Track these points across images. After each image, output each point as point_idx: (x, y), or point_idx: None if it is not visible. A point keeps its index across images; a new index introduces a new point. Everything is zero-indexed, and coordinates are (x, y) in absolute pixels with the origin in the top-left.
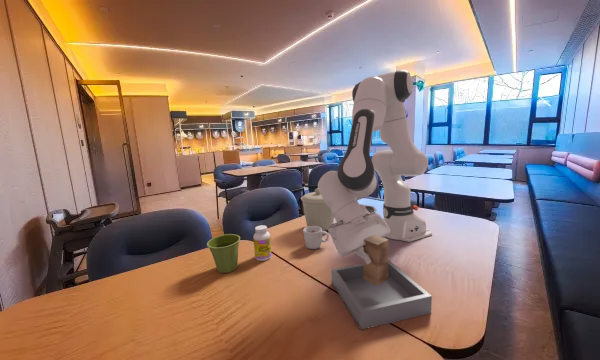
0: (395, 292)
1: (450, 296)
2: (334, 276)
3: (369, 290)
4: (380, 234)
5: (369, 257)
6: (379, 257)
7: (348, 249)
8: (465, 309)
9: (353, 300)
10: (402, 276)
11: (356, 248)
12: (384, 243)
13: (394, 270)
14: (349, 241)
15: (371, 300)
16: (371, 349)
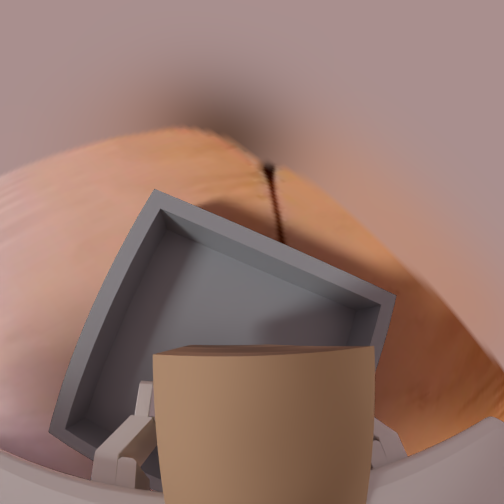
0: (162, 331)
1: (60, 214)
2: None
3: None
4: (83, 499)
5: None
6: (295, 347)
7: (498, 421)
8: (92, 170)
9: (380, 348)
10: (103, 327)
11: (441, 442)
12: (242, 355)
13: (85, 376)
14: (492, 472)
15: None
16: (379, 253)
